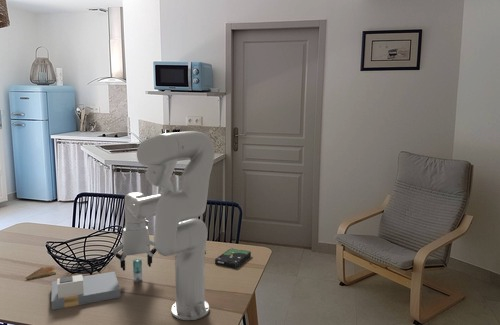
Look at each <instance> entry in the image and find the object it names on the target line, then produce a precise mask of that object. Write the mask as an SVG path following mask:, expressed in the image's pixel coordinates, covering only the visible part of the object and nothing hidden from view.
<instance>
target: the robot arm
mask: <svg viewBox="0 0 500 325" xmlns="http://www.w3.org/2000/svg"><path fill="white" fill-rule="evenodd" d="M214 147H215V146H214V144H213V141H212V140H211V138H210V137H209V135H208V134H206V133H205V132H201V131H195V130H187V131H186V130H185V131H179V132H178V131H177V132H165V133H160V134H157V135H155V136H151V137H149V138H146V139H143V141H141V142H140V144H138V146H137V150H136V157H137V161H138V163H139V164H140V165H141V166H143V167H147V169H146V172H145V178H146V180H147V181H148V183H149V184H151V185H153V186H155V187H158V188H160V190H159V192H158V193H157V194H153V195H148V196H146V195H145V193H143V192H137V191H133V192H129V193H127V194H125V195H124V219H125V220H124V224H125V227H124V228H122V235H121V244H119V245H118V246H116V247H115V248H113V249H112V253H113V255H114V256H115V258H117V259H118V260H119V261H120V268H121V269H122V271H123V272H124V271H126V260H125V259H126V258H127V256H129V257H130V256H136V255H141V254H142V255H144V254H147V256H146V257H147V260H146V261H147V262H146V263H147V265H148V267H149V268H150V267H152V264H153V257H154V255H155V253H158V254H159V255H160V256H163V257H170V256H174V255H176V257H175V261H174V262H175V263H174V265H175V266H174V268H175V269H174V272H175V273H174V275H175V303H173V305H171V311H170V312H171V314H172V316H173V317H174V318H176V319H178V320H182V321H196V320H200V319H202V318H203V317H205V316H207V315H208V313H209V312H210V305H209V303H208V301H206V297H205V296H206V295H205V292H206V291H205V264H206V263H205V257H206V256H205V253H206V252H205V250H206V247H207V240H208V228H207V224H206V223H205V222H204V221H203V220H201V219H200V218H199V217H201V216H203V214H204V213H205V211H206V209H207V202H208V193H209V187H210V186H209V185H210V177H211V172H212V168H213V165H214V161H215V148H214ZM188 159H190V161H189V162H188V163H187V165H186V166H185V168H184V170H183V172H182V175H181V183H180V187H179V189H178V190H176V191H174V190H175V189H174V185H173V183H172V181H171V177H172V175H173V172H174V170H175V168H176V166H177V163H178V161H181V160H188ZM151 217H155V220H154V230H153V231H154V233H153V234H154V235H153V240H150V232H149V228H148V226H147V225H150V223H151V221H150V220H148V219H147V218H151ZM151 246H153V248H152V249H151ZM119 251H122V252H121V253H118V252H119Z"/></svg>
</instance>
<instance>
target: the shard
mask: <svg viewBox="0 0 500 325" xmlns="http://www.w3.org/2000/svg"><path fill="white" fill-rule="evenodd" d="M56 274H57V271H56V268H55V265H50V266H43V267H41V268H38V269H37V270H36V271H34V272H33V273H31V274H29V275H28V276H26V277H25V279H26V280H27V279H29V280H33V279H32V278H34V279H37V277H38V278H41V276H42V277H46V276H52V275H56Z"/></svg>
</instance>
